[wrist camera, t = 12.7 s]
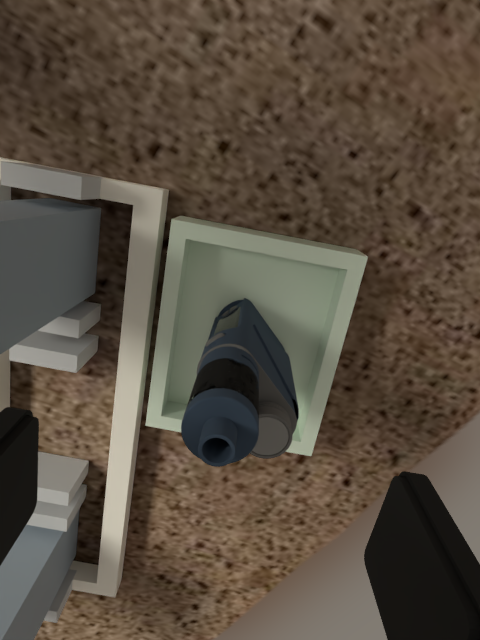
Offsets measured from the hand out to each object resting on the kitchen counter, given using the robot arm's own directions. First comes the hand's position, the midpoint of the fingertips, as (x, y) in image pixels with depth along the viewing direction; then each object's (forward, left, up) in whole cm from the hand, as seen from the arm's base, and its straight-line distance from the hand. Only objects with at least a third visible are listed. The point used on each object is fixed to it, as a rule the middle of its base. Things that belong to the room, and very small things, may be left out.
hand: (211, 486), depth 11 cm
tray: (+1, +1, -14) cm, 14 cm away
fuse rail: (+8, -10, -14) cm, 18 cm away
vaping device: (0, +1, -13) cm, 13 cm away
